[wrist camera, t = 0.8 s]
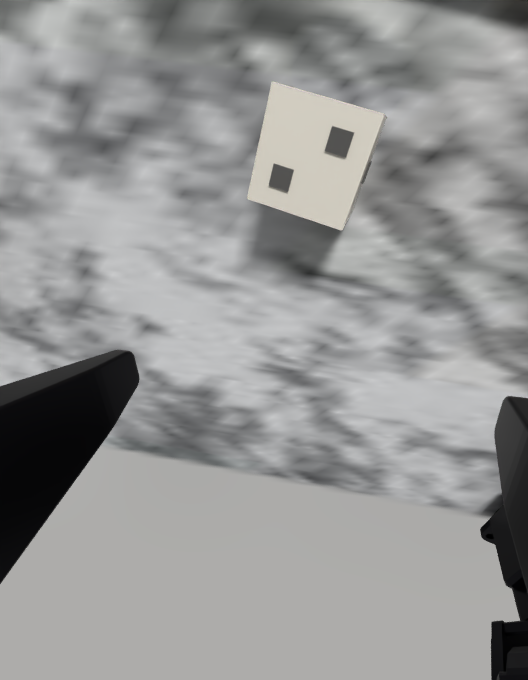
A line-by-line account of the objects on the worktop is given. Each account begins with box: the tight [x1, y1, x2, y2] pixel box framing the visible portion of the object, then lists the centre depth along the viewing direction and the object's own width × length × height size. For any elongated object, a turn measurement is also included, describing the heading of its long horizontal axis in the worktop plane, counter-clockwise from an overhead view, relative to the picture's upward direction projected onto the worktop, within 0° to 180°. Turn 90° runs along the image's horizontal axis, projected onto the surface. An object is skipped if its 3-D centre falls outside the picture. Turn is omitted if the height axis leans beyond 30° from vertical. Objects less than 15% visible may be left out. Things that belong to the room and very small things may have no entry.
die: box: [247, 81, 387, 231], centre depth 15 cm, size 4×4×4 cm
